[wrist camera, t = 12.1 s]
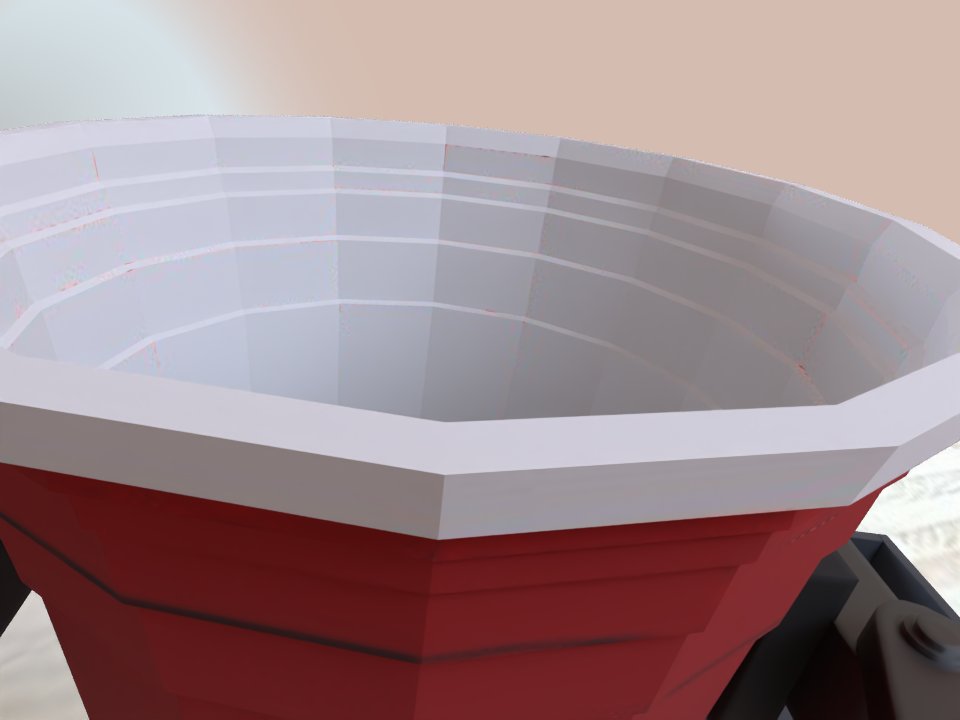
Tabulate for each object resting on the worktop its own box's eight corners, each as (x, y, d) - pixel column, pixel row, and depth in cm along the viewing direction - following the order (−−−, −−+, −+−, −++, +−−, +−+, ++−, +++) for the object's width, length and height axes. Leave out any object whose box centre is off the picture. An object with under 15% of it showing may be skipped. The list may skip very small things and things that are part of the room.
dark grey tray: (508, 915, 22) (541, 836, 20) (470, 549, 36) (487, 484, 34) (1104, 925, 25) (1176, 859, 24) (853, 590, 40) (886, 534, 38)
